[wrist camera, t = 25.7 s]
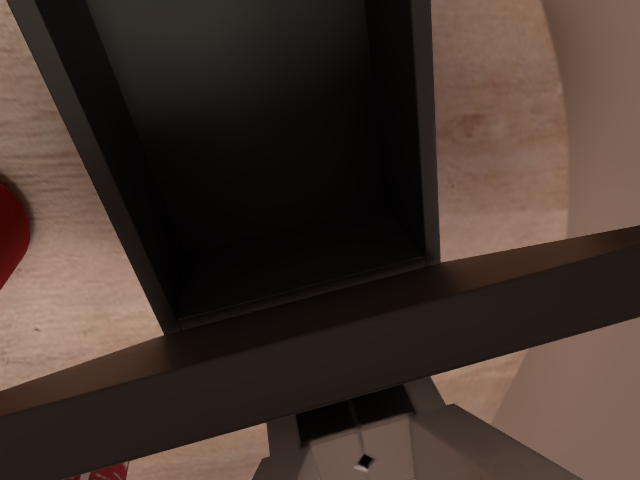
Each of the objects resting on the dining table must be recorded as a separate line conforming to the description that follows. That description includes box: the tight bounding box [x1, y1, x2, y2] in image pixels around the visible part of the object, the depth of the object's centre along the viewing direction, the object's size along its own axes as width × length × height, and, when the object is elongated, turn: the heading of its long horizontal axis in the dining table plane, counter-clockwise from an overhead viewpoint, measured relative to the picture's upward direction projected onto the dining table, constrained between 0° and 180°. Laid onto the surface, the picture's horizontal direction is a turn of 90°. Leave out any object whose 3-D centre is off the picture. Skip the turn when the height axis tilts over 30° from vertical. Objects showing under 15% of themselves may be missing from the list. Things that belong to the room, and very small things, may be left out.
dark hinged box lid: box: [0, 226, 640, 480], centre depth 13 cm, size 16×14×1 cm
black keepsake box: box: [7, 0, 441, 335], centre depth 20 cm, size 16×14×7 cm
